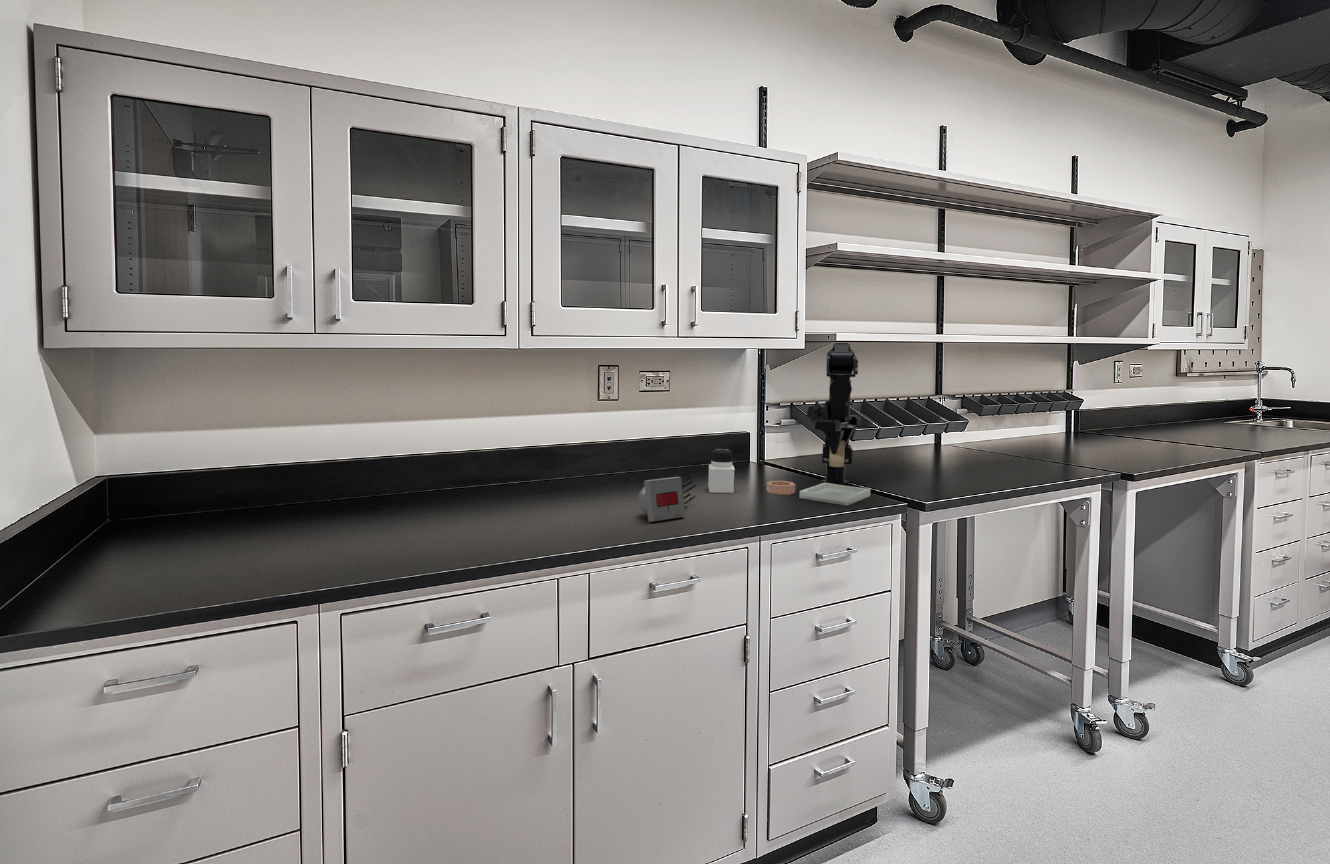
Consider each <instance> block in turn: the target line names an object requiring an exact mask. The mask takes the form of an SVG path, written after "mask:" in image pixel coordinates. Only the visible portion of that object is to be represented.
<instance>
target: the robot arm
mask: <svg viewBox="0 0 1330 864" xmlns="http://www.w3.org/2000/svg"><path fill="white" fill-rule="evenodd" d="M858 372H859V360H858V359H857V356H856V354H855V352H854V351H853V350H852V349H851V343H848V342H835V343H832V348H831V349H830V350H829V351H828V352H827V353H826V377H828V378H829V387H828V388H829V390H828V400H826V401H824V406H821V407H820V406H819V407H817V406H816V405H811V406H808V407H807V412H806V413H807V414H806V417H807V418H809V420H810V422H811V423H813V429H814V430H817V431H818V430H820V431H821V432H822V433H823V434H825V436H826V437H825V441H824V442H825V443H823V444H822V457H821V460H822V461H821V462H822V464H826V466H825V467H826V468H825V479H822V480H821V481H820V482H821V483H830V484H837V485H844V484H847V483H850V480H848V479H847V480H846V478H845V477H846V465H849V466H850V465H853V455H854V454H853V453H854V449H852V448H853V447H852V445H851V444H849V443H850V439H851V437H852V435H853V433H854V432H855V430H856V427H861V426H862V421H863V419H862V418H861V417H860V415H856V414H850V411H851V406H853V403H854V402H853V400H851V394H852V389H853V387H852V381H851V378H856V375H858ZM852 426H855V427H852ZM841 440H842V441H845V452H844V467H832V466H829V458H830V449H831V453H832V454H836V453H837V450H838V447H839V445H840V442H841Z"/></svg>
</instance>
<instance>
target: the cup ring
mask: <svg viewBox="0 0 1330 864" xmlns="http://www.w3.org/2000/svg"><path fill="white" fill-rule="evenodd" d="M765 488H766V489H765V490H766V492H767V493H769V494H773V495H777V496H778V495H780V496H783V495H784V496H785V495H787V496H789V495H790V496H791V495H793V494H796V483H794V482H793V481H788V480H787V481H786V480H770V481H767V482H766V487H765Z"/></svg>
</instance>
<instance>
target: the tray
mask: <svg viewBox="0 0 1330 864" xmlns="http://www.w3.org/2000/svg"><path fill="white" fill-rule="evenodd" d="M870 496H871V488H866V487H860V486H859V487H857V486H851V485H844V484H842V485H837V484H830V483H823V482H821V483H819V484H816V485H813V486H810V487H808V488H805V489H802V490H801V489H800V490H799V499H801V500H802V499H804V500H809V501H817V502H822V503H828V504H835V505H841V506H846V507H847V506H850V505H853V504H854V503H857V502H859V501H862V500H864V499H867V498H869V497H870Z"/></svg>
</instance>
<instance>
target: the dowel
mask: <svg viewBox="0 0 1330 864" xmlns="http://www.w3.org/2000/svg"><path fill="white" fill-rule="evenodd" d="M844 452H845V441H842V440H841V442H840V445H839V447H838V450H837V453H836V454H832V453H831V449H830V458H829V466H832V467H844Z"/></svg>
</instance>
